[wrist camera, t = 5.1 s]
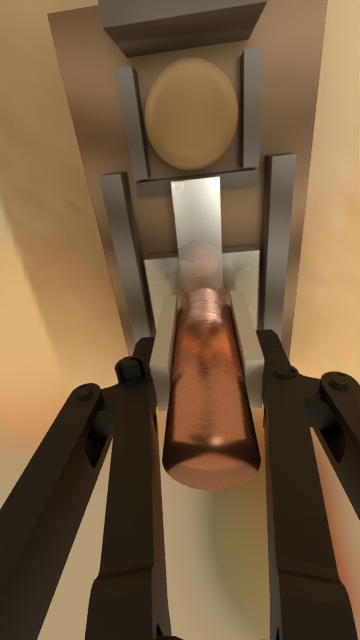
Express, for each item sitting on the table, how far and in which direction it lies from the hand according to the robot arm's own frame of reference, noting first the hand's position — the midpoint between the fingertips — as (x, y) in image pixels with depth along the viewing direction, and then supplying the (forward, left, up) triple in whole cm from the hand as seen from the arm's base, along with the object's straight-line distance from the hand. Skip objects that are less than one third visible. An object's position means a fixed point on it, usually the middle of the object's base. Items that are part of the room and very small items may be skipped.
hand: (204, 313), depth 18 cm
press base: (-3, 0, -5) cm, 5 cm away
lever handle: (-2, 0, -3) cm, 4 cm away
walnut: (-10, 0, -3) cm, 11 cm away
